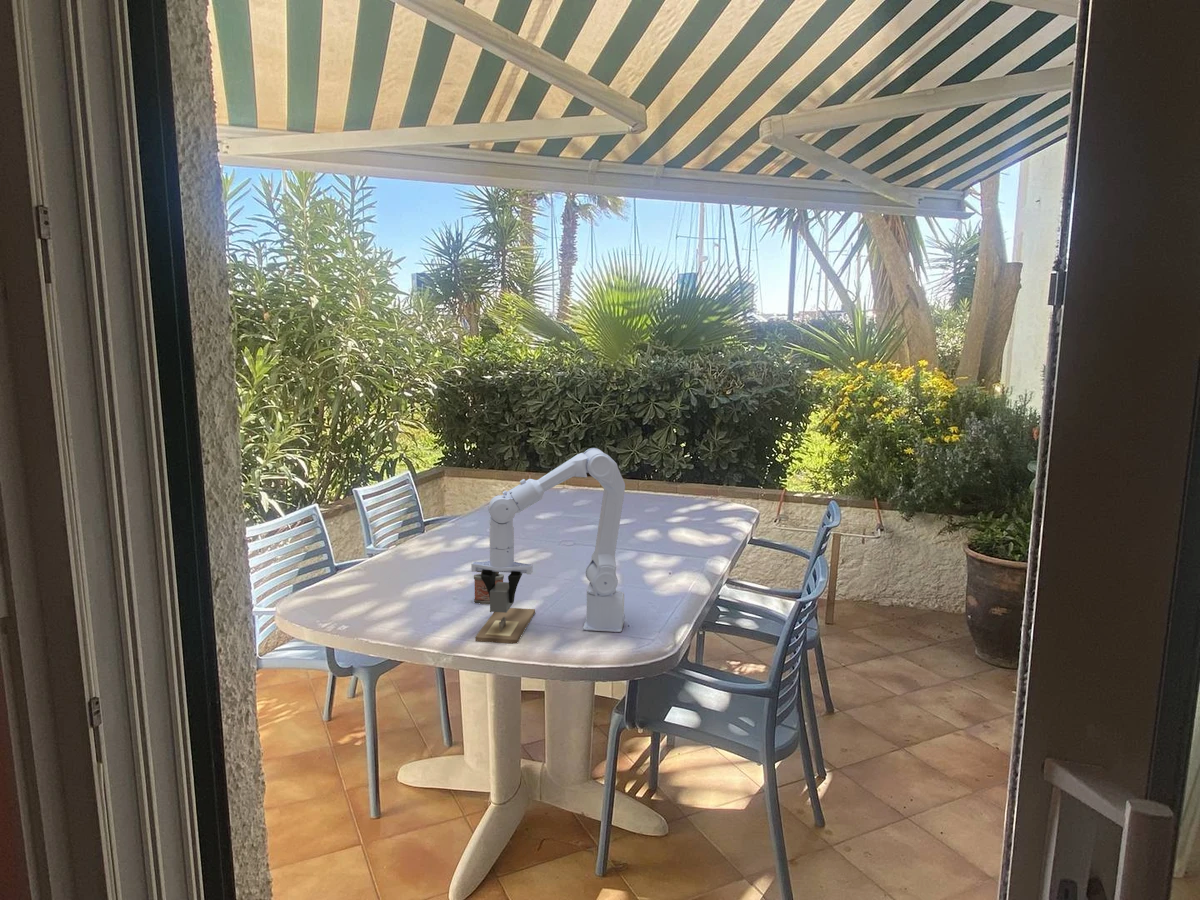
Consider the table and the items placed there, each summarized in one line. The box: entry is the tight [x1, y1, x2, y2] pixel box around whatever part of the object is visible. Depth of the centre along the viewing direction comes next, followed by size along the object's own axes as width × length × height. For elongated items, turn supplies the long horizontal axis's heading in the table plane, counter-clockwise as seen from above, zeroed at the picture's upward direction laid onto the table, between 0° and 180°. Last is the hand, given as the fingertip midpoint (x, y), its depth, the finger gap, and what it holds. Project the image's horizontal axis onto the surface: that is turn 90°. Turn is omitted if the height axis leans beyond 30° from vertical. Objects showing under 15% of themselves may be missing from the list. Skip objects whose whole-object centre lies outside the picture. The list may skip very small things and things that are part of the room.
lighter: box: [473, 571, 505, 605], centre depth 196 cm, size 8×3×10 cm, turn 92°
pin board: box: [474, 607, 536, 644], centre depth 180 cm, size 10×20×3 cm, turn 173°
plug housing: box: [489, 581, 515, 613], centre depth 174 cm, size 4×7×5 cm, turn 173°
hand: (502, 601), depth 175 cm, fingers closed on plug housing, 4 cm apart
